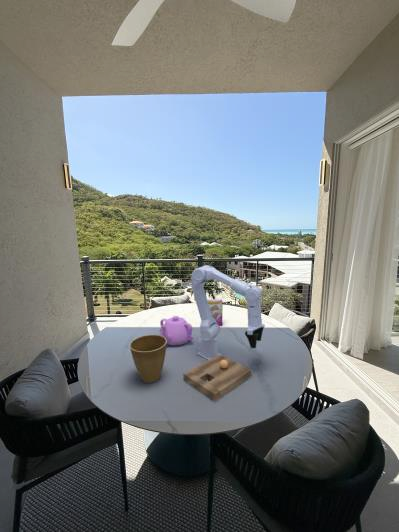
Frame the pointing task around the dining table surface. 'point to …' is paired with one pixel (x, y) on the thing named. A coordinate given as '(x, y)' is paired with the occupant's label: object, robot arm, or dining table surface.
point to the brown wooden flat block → (216, 377)
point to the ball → (224, 364)
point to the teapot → (176, 330)
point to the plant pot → (149, 356)
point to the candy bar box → (216, 309)
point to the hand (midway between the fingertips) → (255, 344)
